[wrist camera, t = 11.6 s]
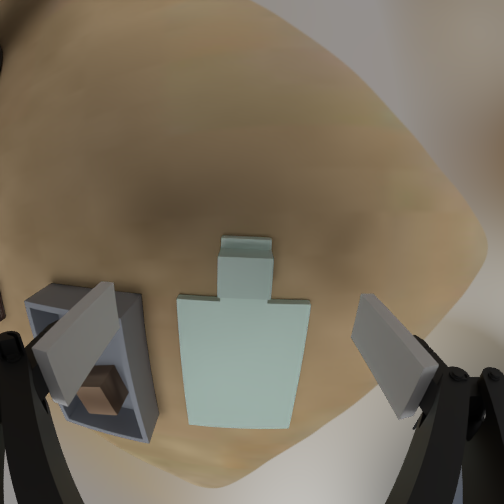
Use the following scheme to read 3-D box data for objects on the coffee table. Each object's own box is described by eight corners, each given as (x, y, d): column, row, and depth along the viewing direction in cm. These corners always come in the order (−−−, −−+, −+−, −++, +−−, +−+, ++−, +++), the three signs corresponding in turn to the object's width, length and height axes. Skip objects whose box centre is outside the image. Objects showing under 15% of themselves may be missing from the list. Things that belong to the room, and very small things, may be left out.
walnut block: (87, 365, 26) (71, 386, 23) (114, 364, 26) (99, 387, 22) (101, 392, 27) (89, 413, 24) (128, 392, 27) (117, 415, 23)
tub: (51, 282, 25) (24, 301, 20) (141, 294, 25) (120, 318, 20) (81, 396, 29) (66, 420, 24) (159, 413, 29) (149, 443, 24)
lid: (177, 233, 24) (166, 243, 20) (315, 239, 24) (326, 250, 20) (190, 418, 29) (185, 439, 26) (287, 422, 30) (290, 443, 26)
